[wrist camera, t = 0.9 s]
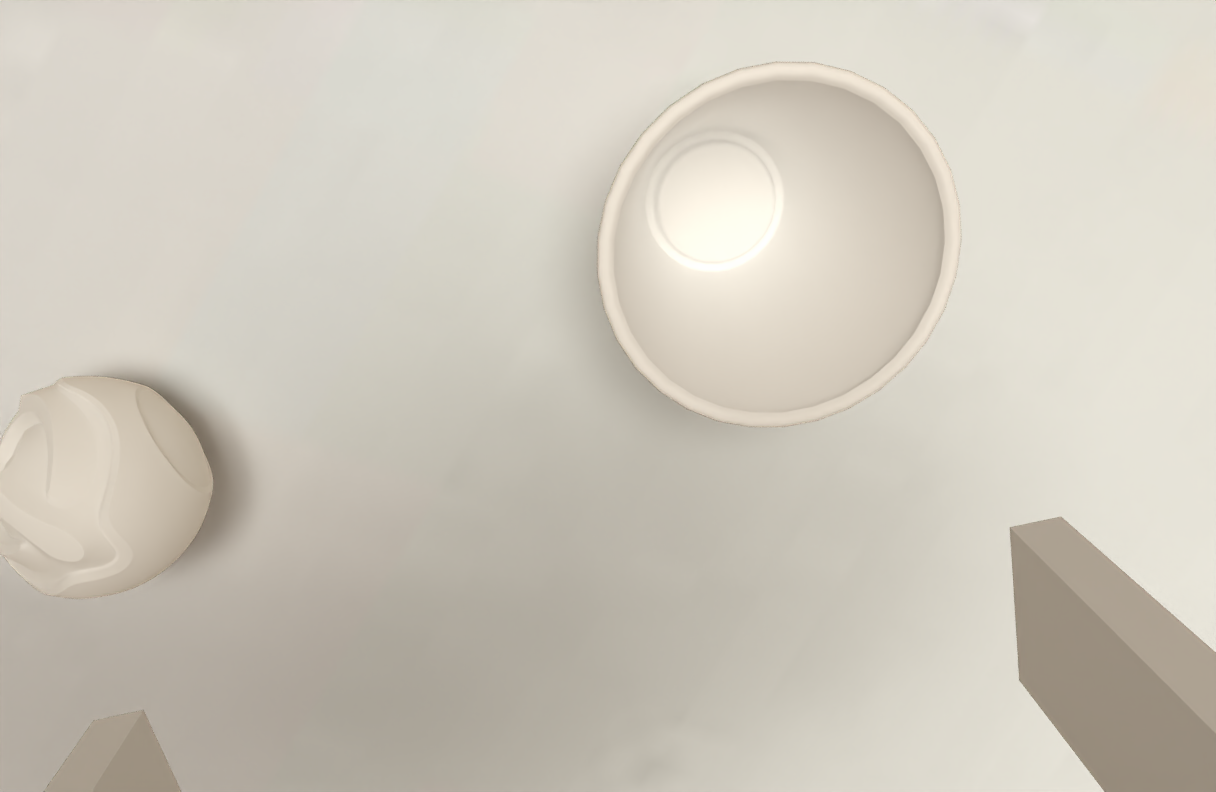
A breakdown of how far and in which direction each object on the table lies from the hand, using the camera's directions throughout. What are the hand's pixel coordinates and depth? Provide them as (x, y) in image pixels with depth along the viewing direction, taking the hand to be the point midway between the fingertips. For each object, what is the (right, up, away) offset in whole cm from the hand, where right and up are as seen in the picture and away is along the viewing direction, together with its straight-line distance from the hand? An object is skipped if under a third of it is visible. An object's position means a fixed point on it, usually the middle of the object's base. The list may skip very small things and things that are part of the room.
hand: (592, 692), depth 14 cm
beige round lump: (-19, +2, +23) cm, 30 cm away
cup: (+4, +12, +21) cm, 25 cm away
